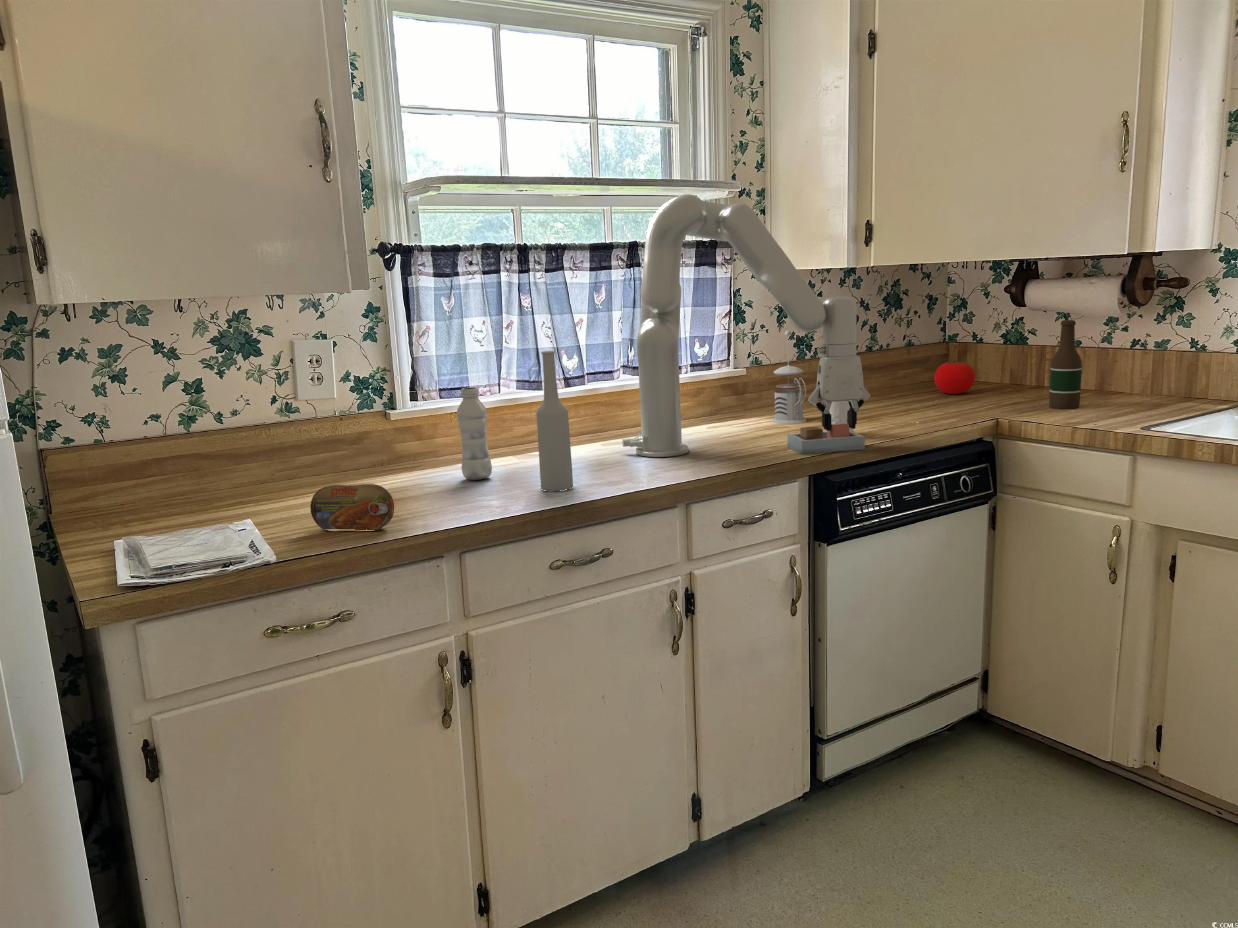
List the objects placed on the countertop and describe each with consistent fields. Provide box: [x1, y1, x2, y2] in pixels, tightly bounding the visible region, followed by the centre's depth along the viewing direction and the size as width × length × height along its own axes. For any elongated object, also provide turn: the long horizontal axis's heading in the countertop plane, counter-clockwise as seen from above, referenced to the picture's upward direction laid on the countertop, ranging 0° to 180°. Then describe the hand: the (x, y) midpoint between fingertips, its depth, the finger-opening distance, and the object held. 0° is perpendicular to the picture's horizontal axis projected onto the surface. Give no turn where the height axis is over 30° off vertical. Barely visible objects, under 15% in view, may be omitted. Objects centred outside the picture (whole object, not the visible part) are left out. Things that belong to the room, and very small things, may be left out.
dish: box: [786, 430, 866, 455], centre depth 213 cm, size 15×10×3 cm, turn 99°
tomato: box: [933, 360, 976, 395], centre depth 287 cm, size 11×12×10 cm
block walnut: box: [799, 426, 824, 440], centre depth 212 cm, size 4×4×4 cm
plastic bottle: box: [456, 386, 493, 481], centre depth 196 cm, size 6×7×20 cm
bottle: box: [535, 350, 574, 492], centre depth 183 cm, size 7×7×28 cm
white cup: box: [825, 401, 855, 433], centre depth 226 cm, size 8×8×10 cm
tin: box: [309, 483, 395, 531], centre depth 161 cm, size 15×3×8 cm, turn 80°
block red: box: [827, 423, 850, 438], centre depth 214 cm, size 4×4×4 cm
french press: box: [771, 330, 807, 425], centre depth 250 cm, size 10×12×25 cm
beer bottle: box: [1048, 319, 1083, 410], centre depth 250 cm, size 8×8×24 cm
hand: (839, 428), depth 213 cm, fingers open, 5 cm apart
